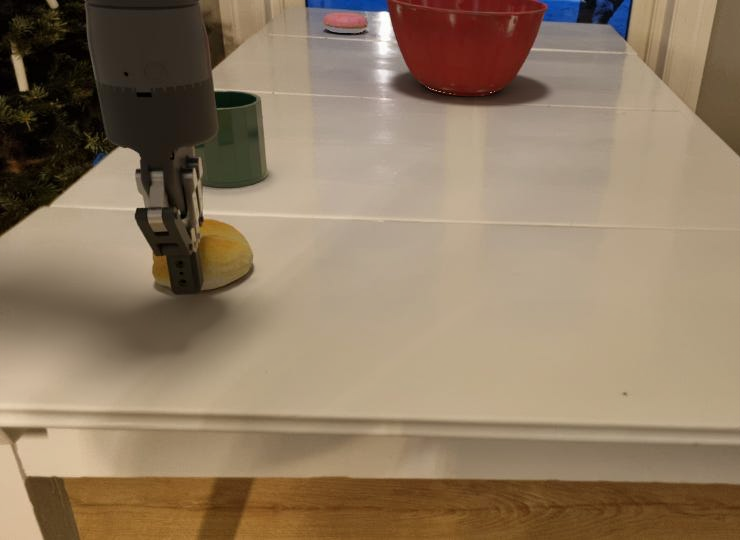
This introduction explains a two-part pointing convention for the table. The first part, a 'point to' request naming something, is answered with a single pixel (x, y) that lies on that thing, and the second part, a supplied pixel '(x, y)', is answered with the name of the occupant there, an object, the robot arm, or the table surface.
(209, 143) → the mug
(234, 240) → the bread roll
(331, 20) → the doughnut
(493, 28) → the mixing bowl
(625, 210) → the table surface
